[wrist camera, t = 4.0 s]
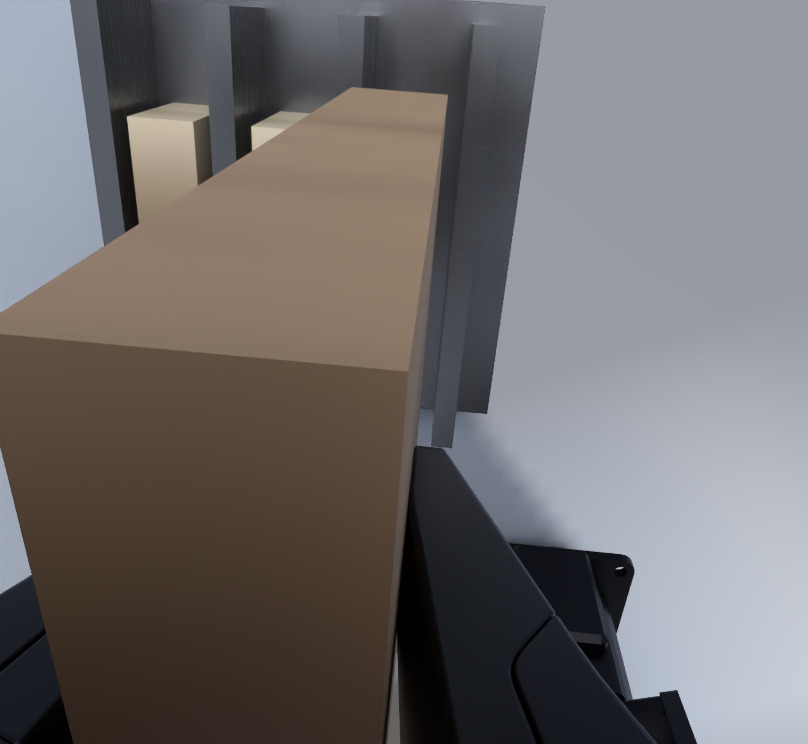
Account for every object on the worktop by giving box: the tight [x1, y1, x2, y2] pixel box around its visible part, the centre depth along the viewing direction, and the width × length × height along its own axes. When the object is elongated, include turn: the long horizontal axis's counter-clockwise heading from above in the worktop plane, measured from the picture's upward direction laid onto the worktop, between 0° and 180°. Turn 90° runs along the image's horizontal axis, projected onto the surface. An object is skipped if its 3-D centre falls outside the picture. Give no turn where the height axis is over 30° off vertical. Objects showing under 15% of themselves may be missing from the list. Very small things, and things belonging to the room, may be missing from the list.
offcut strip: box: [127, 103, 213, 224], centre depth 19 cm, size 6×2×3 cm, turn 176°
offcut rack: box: [70, 0, 545, 448], centre depth 19 cm, size 12×12×4 cm
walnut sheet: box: [0, 87, 448, 744], centre depth 9 cm, size 8×2×10 cm, turn 176°
